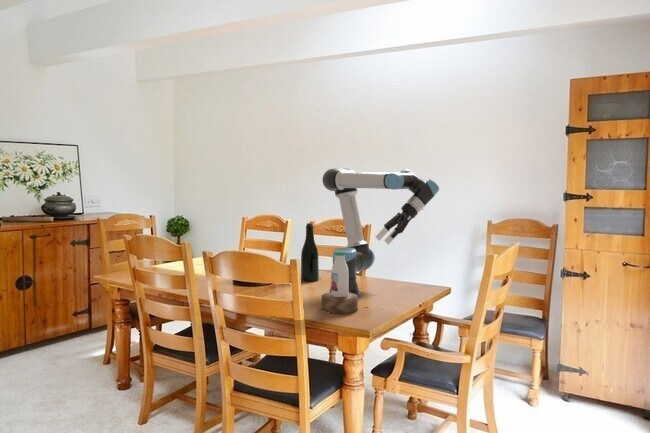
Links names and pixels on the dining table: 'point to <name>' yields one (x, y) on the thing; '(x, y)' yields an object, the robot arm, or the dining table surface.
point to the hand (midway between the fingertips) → (381, 240)
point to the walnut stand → (340, 303)
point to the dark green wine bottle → (309, 257)
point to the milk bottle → (339, 276)
